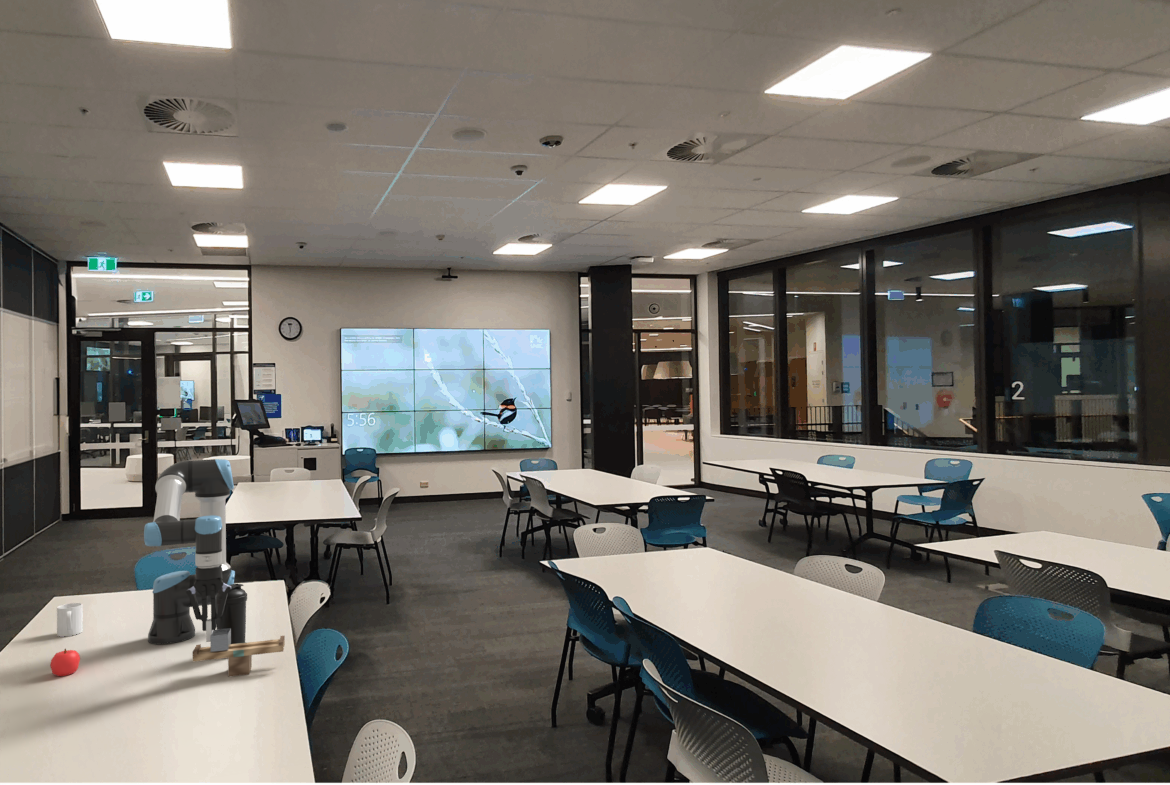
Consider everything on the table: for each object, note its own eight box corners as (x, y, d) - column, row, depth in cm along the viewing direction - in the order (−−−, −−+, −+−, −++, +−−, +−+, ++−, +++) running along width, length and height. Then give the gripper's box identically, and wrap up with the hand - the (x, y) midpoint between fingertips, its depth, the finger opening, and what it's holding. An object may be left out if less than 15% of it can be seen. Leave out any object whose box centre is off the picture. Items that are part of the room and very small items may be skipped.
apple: (77, 667, 243) (77, 642, 243) (83, 673, 237) (82, 648, 237) (47, 673, 237) (47, 648, 237) (52, 680, 231) (52, 654, 231)
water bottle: (254, 650, 257) (253, 584, 257) (229, 660, 247) (228, 591, 248) (233, 646, 261) (233, 581, 261) (208, 656, 252) (207, 588, 252)
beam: (192, 681, 229) (192, 652, 229) (196, 672, 236) (196, 644, 236) (283, 670, 237) (283, 642, 237) (284, 662, 244) (284, 635, 244)
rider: (210, 658, 231) (210, 635, 231) (213, 651, 237) (213, 629, 237) (228, 656, 233) (228, 634, 233) (231, 649, 239) (230, 628, 239)
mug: (57, 632, 279) (57, 605, 279) (83, 629, 283) (82, 601, 283) (55, 641, 269) (55, 612, 269) (81, 637, 273) (81, 609, 273)
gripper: (183, 569, 229) (184, 646, 228) (229, 566, 233) (230, 641, 232) (188, 564, 236) (188, 639, 236) (233, 561, 240) (233, 634, 240)
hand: (209, 640), depth 234 cm, fingers closed
